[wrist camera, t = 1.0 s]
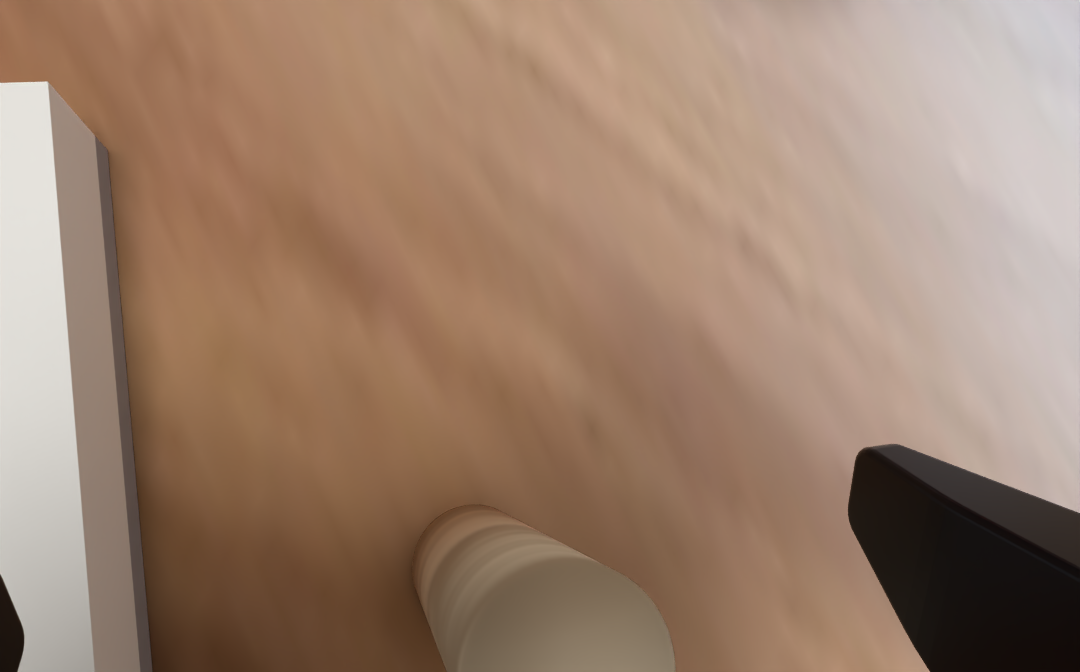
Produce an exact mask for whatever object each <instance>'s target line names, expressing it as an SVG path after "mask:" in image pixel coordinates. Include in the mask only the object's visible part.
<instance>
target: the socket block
mask: <svg viewBox="0 0 1080 672" xmlns="http://www.w3.org/2000/svg"><path fill="white" fill-rule="evenodd" d="M0 575H1V576H2V578H3V581H4V583H5V585H6V588H7V590H8V593H9V595H10V597H11V600H12V602H13V604H14V607H15V609H16V612H17V614H18V616H19V619H20V621H21V624H22V627H23V630H24V651H23V655H22V659H21V662H20V665H19V668H18V672H153V671H152V659H151V648H150V636H149V624H148V613H147V601H146V590H145V578H144V567H143V555H142V543H141V532H140V520H139V509H138V497H137V486H136V474H135V463H134V451H133V439H132V428H131V416H130V405H129V393H128V382H127V370H126V358H125V347H124V335H123V324H122V312H121V301H120V289H119V277H118V266H117V254H116V243H115V231H114V220H113V208H112V196H111V185H110V173H109V162H108V150H107V149H106V148H105V147H104V146H103V144H102V143H101V142H100V141H99V140H98V139H97V138H96V136H95V135H94V134H93V133H92V132H91V131H90V129H89V128H88V127H87V126H86V125H85V124H84V123H83V121H82V120H81V119H80V118H79V117H78V116H77V115H76V113H75V112H74V111H73V110H72V109H71V108H70V107H69V105H68V104H67V103H66V102H65V101H64V100H63V98H62V97H61V96H60V95H59V94H58V93H57V92H56V90H55V89H54V88H53V87H52V86H51V85H50V84H49V82H19V83H0Z"/></svg>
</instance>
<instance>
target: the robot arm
mask: <svg viewBox="0 0 1080 672" xmlns="http://www.w3.org/2000/svg"><path fill="white" fill-rule="evenodd" d="M848 517H849V522H850V525H851V528H852V530H853V532H854V534H855V536H856V538H857V540H858V542H859V544H860V546H861V547H862V549H863V551H864V553H865V555H866V557H867V559H868V561H869V563H870V565H871V567H872V568H873V570H874V572H875V574H876V576H877V578H878V580H879V582H880V584H881V586H882V588H883V589H884V591H885V593H886V595H887V597H888V599H889V601H890V603H891V605H892V607H893V609H894V610H895V612H896V614H897V616H898V618H899V620H900V622H901V624H902V626H903V628H904V629H905V631H906V633H907V635H908V636H909V638H910V640H911V642H912V644H913V645H914V647H915V649H916V650H917V652H918V653H919V655H920V657H921V658H922V660H923V661H924V663H925V665H926V666H927V668H928V669H929V671H930V672H1080V513H1078V512H1075V511H1072V510H1070V509H1067V508H1065V507H1062V506H1059V505H1057V504H1054V503H1051V502H1049V501H1046V500H1044V499H1041V498H1038V497H1036V496H1033V495H1030V494H1028V493H1025V492H1023V491H1020V490H1017V489H1015V488H1012V487H1009V486H1007V485H1004V484H1002V483H999V482H996V481H994V480H991V479H988V478H986V477H983V476H980V475H978V474H975V473H973V472H970V471H967V470H965V469H962V468H959V467H957V466H954V465H952V464H949V463H946V462H944V461H941V460H938V459H936V458H933V457H931V456H928V455H925V454H923V453H920V452H917V451H915V450H912V449H910V448H907V447H904V446H902V445H898V444H887V445H880V446H873V447H866V448H864V449H862V450H861V451H860V452H859V453H858V455H857V456H856V460H855V465H854V471H853V478H852V484H851V491H850V497H849V503H848ZM23 651H24V630H23V627H22V624H21V621H20V619H19V616H18V614H17V612H16V609H15V607H14V604H13V602H12V600H11V597H10V595H9V593H8V590H7V588H6V585H5V583H4V581H3V578H2V576H1V575H0V672H18V668H19V665H20V662H21V659H22V655H23Z"/></svg>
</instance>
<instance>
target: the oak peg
mask: <svg viewBox="0 0 1080 672" xmlns="http://www.w3.org/2000/svg"><path fill="white" fill-rule="evenodd" d="M412 573H413V581H414V586H415V589H416V592H417V594H418V597H419V600H420V602H421V605H422V608H423V610H424V613H425V615H426V618H427V621H428V623H429V626H430V629H431V631H432V634H433V637H434V639H435V642H436V644H437V647H438V650H439V652H440V655H441V658H442V660H443V663H444V666H445V668H446V671H447V672H675V658H674V650H673V646H672V641H671V637H670V634H669V631H668V628H667V626H666V623H665V621H664V619H663V617H662V615H661V613H660V612H659V610H658V609H657V607H656V606H655V604H654V602H653V601H652V600H651V599H650V598H649V596H648V595H647V594H646V593H645V592H644V591H643V590H642V589H641V588H640V587H639V586H638V585H637V584H635V583H634V582H633V581H632V580H630V579H629V578H627V577H625V576H624V575H622V574H621V573H619V572H617V571H615V570H613V569H611V568H609V567H607V566H605V565H603V564H601V563H599V562H598V561H596V560H594V559H592V558H590V557H588V556H586V555H584V554H582V553H580V552H578V551H576V550H574V549H572V548H571V547H569V546H567V545H565V544H563V543H561V542H559V541H557V540H555V539H553V538H551V537H549V536H547V535H545V534H544V533H542V532H540V531H538V530H536V529H534V528H532V527H530V526H528V525H526V524H524V523H522V522H520V521H518V520H517V519H515V518H513V517H511V516H509V515H507V514H505V513H503V512H501V511H499V510H497V509H495V508H492V507H488V506H483V505H465V506H460V507H457V508H454V509H451V510H449V511H447V512H445V513H443V514H442V515H440V516H439V517H438V518H436V519H435V520H434V521H433V522H432V523H431V524H430V525H429V526H428V527H427V529H426V530H425V531H424V533H423V534H422V536H421V537H420V539H419V542H418V544H417V546H416V549H415V552H414V557H413V565H412Z"/></svg>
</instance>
